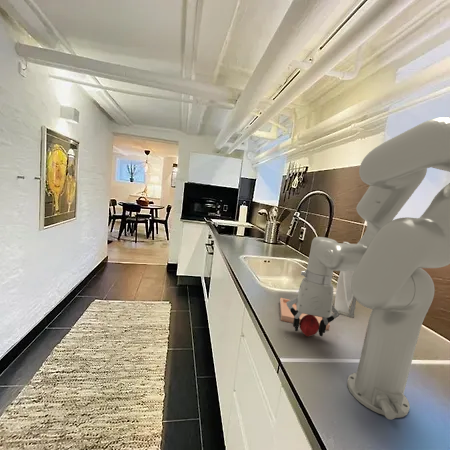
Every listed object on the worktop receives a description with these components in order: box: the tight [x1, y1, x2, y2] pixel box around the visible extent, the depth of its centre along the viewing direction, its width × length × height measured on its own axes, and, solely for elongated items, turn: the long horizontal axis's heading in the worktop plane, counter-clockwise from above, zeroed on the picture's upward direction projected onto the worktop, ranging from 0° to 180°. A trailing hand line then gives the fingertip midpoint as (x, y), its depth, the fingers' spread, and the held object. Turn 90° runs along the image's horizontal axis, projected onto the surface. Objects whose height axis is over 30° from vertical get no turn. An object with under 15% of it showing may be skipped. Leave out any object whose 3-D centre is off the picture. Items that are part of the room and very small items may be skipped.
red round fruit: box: [299, 315, 319, 337], centre depth 84 cm, size 6×6×8 cm
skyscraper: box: [333, 241, 357, 318], centre depth 107 cm, size 8×8×28 cm
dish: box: [279, 297, 331, 332], centre depth 99 cm, size 16×16×2 cm
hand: (308, 331), depth 85 cm, fingers open, 6 cm apart
